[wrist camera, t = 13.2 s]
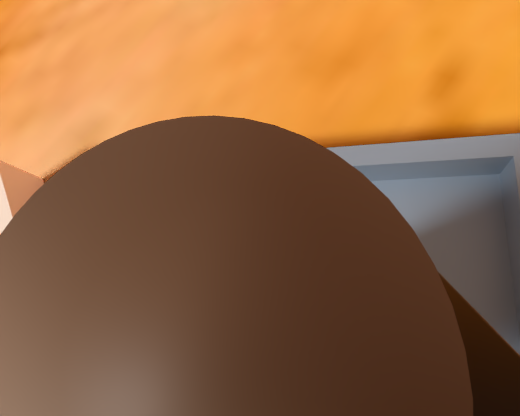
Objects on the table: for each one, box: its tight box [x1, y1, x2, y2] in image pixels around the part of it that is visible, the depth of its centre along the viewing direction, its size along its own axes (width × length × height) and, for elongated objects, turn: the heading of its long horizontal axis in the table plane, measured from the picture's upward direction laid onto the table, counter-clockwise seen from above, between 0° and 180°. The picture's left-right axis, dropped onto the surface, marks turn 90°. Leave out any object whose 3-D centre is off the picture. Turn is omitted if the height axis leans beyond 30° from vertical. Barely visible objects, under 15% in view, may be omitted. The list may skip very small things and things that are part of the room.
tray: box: [327, 133, 520, 355], centre depth 15 cm, size 14×14×3 cm
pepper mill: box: [0, 116, 473, 416], centre depth 9 cm, size 4×4×12 cm
